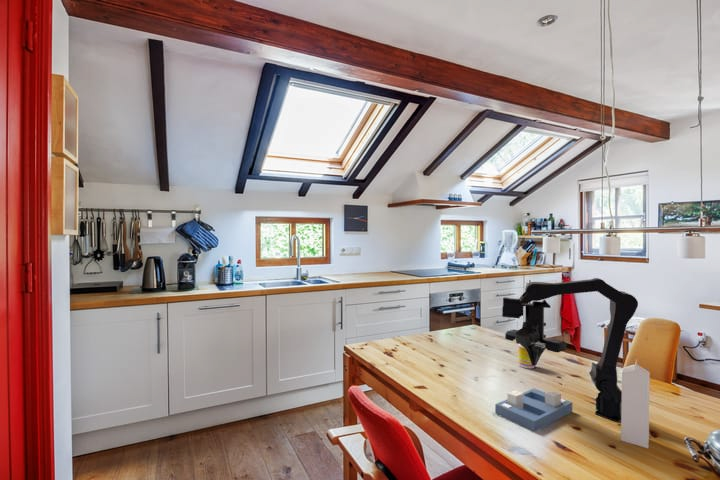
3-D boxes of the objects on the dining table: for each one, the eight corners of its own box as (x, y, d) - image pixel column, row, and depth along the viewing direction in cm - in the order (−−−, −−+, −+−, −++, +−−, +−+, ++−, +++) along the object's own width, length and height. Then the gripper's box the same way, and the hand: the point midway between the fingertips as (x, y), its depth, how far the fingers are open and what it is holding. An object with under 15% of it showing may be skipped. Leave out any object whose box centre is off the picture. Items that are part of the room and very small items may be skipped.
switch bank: (572, 411, 118) (572, 401, 118) (534, 431, 106) (534, 420, 106) (534, 396, 129) (534, 387, 129) (495, 413, 116) (495, 403, 116)
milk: (648, 439, 102) (650, 361, 102) (648, 449, 97) (650, 366, 97) (622, 431, 106) (623, 356, 106) (620, 440, 101) (622, 361, 101)
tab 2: (560, 409, 117) (561, 393, 117) (554, 412, 115) (554, 396, 115) (551, 405, 119) (551, 390, 119) (544, 408, 117) (545, 393, 117)
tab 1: (523, 408, 117) (523, 393, 117) (515, 412, 115) (516, 396, 115) (514, 405, 119) (514, 390, 119) (507, 408, 117) (507, 392, 117)
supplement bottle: (533, 370, 154) (533, 340, 154) (516, 366, 158) (516, 337, 158) (536, 365, 160) (536, 336, 160) (520, 362, 164) (520, 334, 164)
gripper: (495, 317, 126) (495, 362, 127) (549, 328, 111) (548, 379, 111) (514, 313, 133) (514, 356, 133) (567, 323, 117) (567, 372, 117)
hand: (534, 365), depth 123 cm, fingers closed
